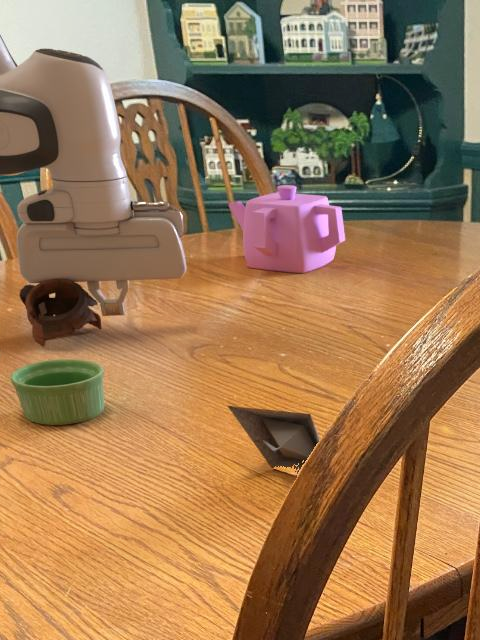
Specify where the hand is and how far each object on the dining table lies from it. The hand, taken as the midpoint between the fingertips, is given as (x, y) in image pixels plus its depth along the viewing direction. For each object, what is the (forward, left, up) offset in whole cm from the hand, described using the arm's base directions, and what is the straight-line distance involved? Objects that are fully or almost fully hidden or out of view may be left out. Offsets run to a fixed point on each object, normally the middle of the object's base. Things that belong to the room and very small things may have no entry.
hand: (114, 314), depth 120 cm
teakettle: (+26, +39, -2) cm, 47 cm away
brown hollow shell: (-6, -2, -2) cm, 7 cm away
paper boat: (+19, -49, -2) cm, 53 cm away
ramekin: (-3, -30, -2) cm, 30 cm away
